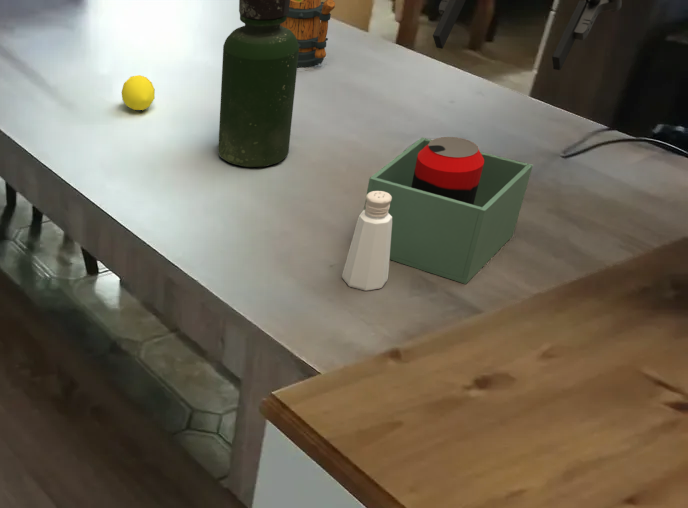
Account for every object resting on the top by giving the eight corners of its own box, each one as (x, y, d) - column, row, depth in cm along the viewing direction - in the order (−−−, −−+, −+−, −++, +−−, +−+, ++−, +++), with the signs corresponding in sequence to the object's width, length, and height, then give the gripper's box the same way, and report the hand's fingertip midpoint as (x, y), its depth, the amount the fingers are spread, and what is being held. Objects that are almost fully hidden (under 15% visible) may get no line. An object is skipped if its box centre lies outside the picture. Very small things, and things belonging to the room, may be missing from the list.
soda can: (392, 227, 120) (409, 137, 112) (448, 220, 120) (469, 130, 112) (415, 256, 114) (435, 164, 106) (474, 249, 115) (498, 157, 107)
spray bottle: (248, 133, 144) (261, -42, 128) (302, 152, 138) (322, -29, 122) (203, 155, 139) (210, -25, 123) (257, 176, 134) (272, -10, 117)
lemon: (160, 114, 152) (160, 81, 148) (129, 119, 151) (128, 86, 147) (146, 99, 157) (146, 66, 153) (116, 104, 156) (115, 71, 152)
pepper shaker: (331, 277, 112) (344, 193, 105) (363, 262, 115) (377, 179, 107) (365, 296, 109) (381, 211, 102) (397, 281, 111) (414, 196, 104)
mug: (257, 55, 170) (262, -12, 162) (301, 44, 173) (308, -23, 165) (301, 77, 161) (309, 6, 153) (347, 64, 164) (357, -5, 156)
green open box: (512, 236, 118) (533, 164, 111) (465, 284, 110) (485, 210, 104) (408, 205, 125) (422, 137, 118) (357, 249, 117) (369, 178, 111)
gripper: (700, -93, 100) (610, 90, 102) (475, -114, 113) (398, 50, 114) (706, -141, 94) (610, 55, 95) (467, -158, 106) (386, 16, 108)
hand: (494, 53), depth 105 cm, fingers open, 13 cm apart
